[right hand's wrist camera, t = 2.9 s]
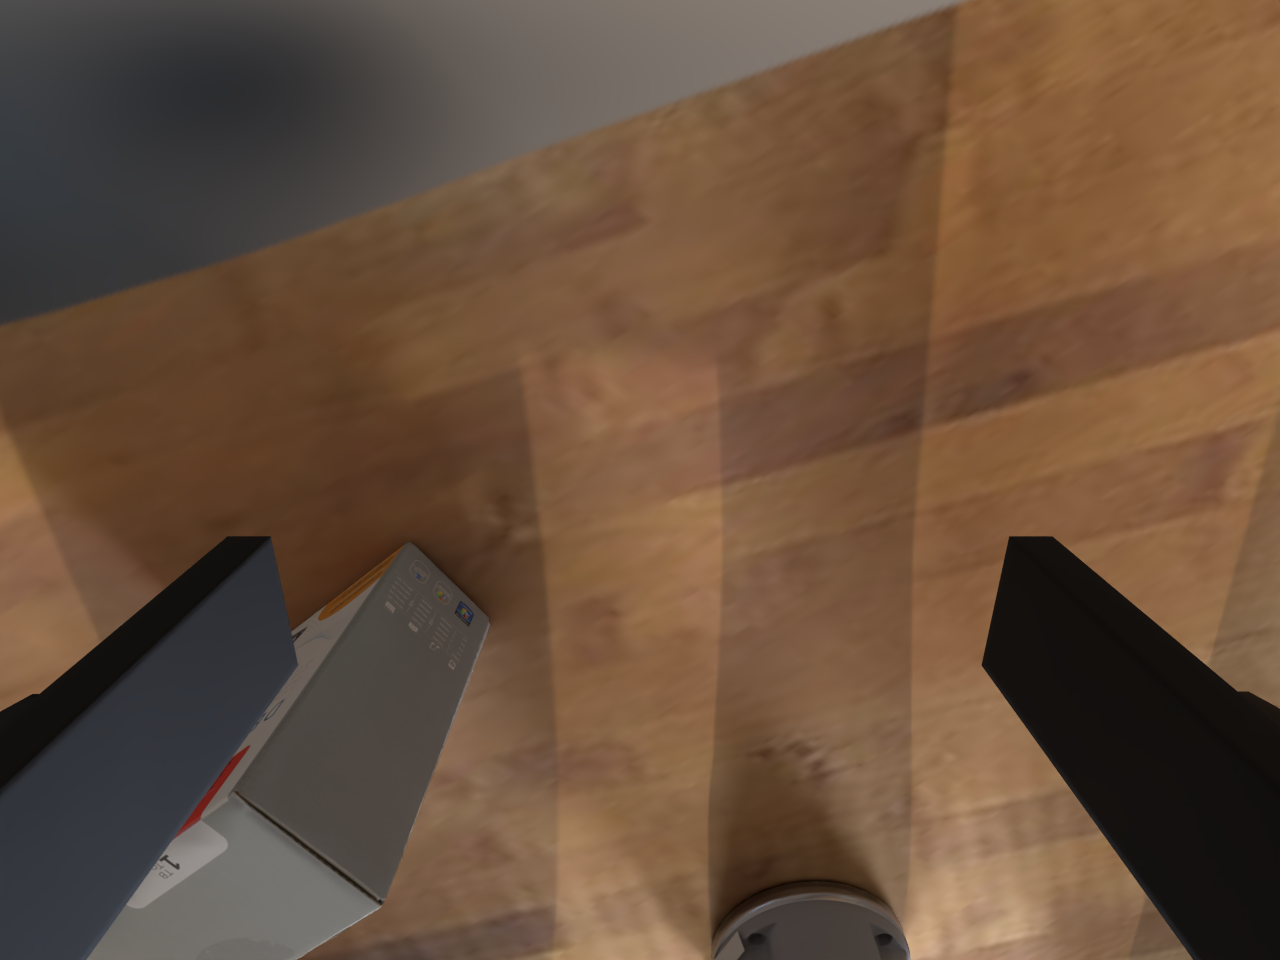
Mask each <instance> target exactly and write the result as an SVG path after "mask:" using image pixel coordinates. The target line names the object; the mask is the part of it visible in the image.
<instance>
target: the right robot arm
mask: <svg viewBox="0 0 1280 960" xmlns="http://www.w3.org/2000/svg"><path fill="white" fill-rule="evenodd" d="M297 667H298V661H297V657H296V652H295V648H294V643H293V638H292V634H291V629H290V624H289V620H288V615H287V610H286V606H285V601H284V596H283V592H282V587H281V582H280V578H279V573H278V568H277V564H276V559H275V554H274V550H273V545H272V540H271V536H228V537H226V538H225V539H224V540H223V541H222V542H220V543H219V544H218V545H217V546H216V547H214V548H213V549H212V550H211V551H210V552H208V553H207V554H206V555H205V556H204V557H202V558H201V559H200V560H199V561H198V562H197V563H195V564H194V565H193V566H192V567H191V568H189V569H188V570H187V571H186V572H185V573H183V574H182V575H181V576H180V577H179V578H177V579H176V580H175V581H174V582H173V583H171V584H170V585H169V586H168V587H167V588H166V589H164V590H163V591H162V592H161V593H160V594H158V595H157V596H156V597H155V598H154V599H152V600H151V601H150V602H149V603H148V604H146V605H145V606H144V607H143V608H142V609H140V610H139V611H138V612H137V613H136V614H135V615H133V616H132V617H131V618H130V619H129V620H127V621H126V622H125V623H124V624H123V625H121V626H120V627H119V628H118V629H117V630H115V631H114V632H113V633H112V634H111V635H109V636H108V637H107V638H106V639H105V640H103V641H102V642H101V643H100V644H99V645H98V646H96V647H95V648H94V649H93V650H92V651H90V652H89V653H88V654H87V655H86V656H84V657H83V658H82V659H81V660H80V661H78V662H77V663H76V664H75V665H74V666H72V667H71V668H70V669H69V670H68V671H67V672H65V673H64V674H63V675H62V676H61V677H59V678H58V679H57V680H56V681H55V682H53V683H52V684H51V685H50V686H49V687H47V688H46V689H45V690H44V691H43V692H41V693H40V694H32V695H30V696H28V697H26V698H24V699H23V700H21V701H19V702H17V703H15V704H14V705H12V706H10V707H8V708H6V709H4V710H3V711H1V712H0V960H87V958H88V957H89V955H90V954H91V953H92V951H93V950H94V949H95V947H96V946H97V944H98V943H99V942H100V940H101V939H102V937H103V936H104V935H105V933H106V932H107V930H108V929H109V928H110V926H111V925H112V924H113V922H114V921H115V919H116V918H117V917H118V915H119V914H120V912H121V911H122V910H123V908H124V907H125V905H126V904H127V903H128V901H129V900H130V899H131V897H132V896H133V894H134V893H135V892H136V890H137V889H138V887H139V886H140V885H141V883H142V882H143V880H144V879H145V878H146V876H147V875H148V874H149V872H150V871H151V869H152V868H153V867H154V865H155V864H156V862H157V861H158V860H159V858H160V857H161V855H162V854H163V853H164V851H165V850H166V849H167V847H168V846H169V844H170V843H171V842H172V840H173V839H174V837H175V836H176V835H177V833H178V832H179V830H180V829H181V828H182V826H183V825H184V824H185V822H186V821H187V819H188V818H189V817H190V815H191V814H192V812H193V811H194V810H195V808H196V807H197V805H198V804H199V803H200V801H201V800H202V798H203V797H204V796H205V794H206V793H207V792H208V790H209V789H210V787H211V786H212V785H213V783H214V782H215V780H216V779H217V778H218V776H219V775H220V773H221V772H222V771H223V769H224V768H225V767H226V765H227V764H228V762H229V761H230V760H231V758H232V757H233V755H234V754H235V753H236V751H237V750H238V748H239V747H240V746H241V744H242V743H243V742H244V740H245V739H246V737H247V736H248V735H249V733H250V732H251V730H252V729H253V728H254V726H255V725H256V723H257V722H258V721H259V719H260V718H261V717H262V715H263V714H264V712H265V711H266V710H267V708H268V707H269V705H270V704H271V703H272V701H273V700H274V698H275V697H276V696H277V694H278V693H279V692H280V690H281V689H282V687H283V686H284V685H285V683H286V682H287V680H288V679H289V678H290V676H291V675H292V673H293V672H294V671H295V669H296V668H297ZM982 667H983V668H984V669H985V671H986V672H987V673H988V675H989V676H990V678H991V679H992V680H993V682H994V683H995V685H996V686H997V687H998V689H999V690H1000V692H1001V693H1002V694H1003V696H1004V697H1005V698H1006V700H1007V701H1008V703H1009V704H1010V705H1011V707H1012V708H1013V710H1014V711H1015V712H1016V714H1017V715H1018V717H1019V718H1020V719H1021V721H1022V722H1023V723H1024V725H1025V726H1026V728H1027V729H1028V730H1029V732H1030V733H1031V735H1032V736H1033V737H1034V739H1035V740H1036V742H1037V743H1038V744H1039V746H1040V747H1041V748H1042V750H1043V751H1044V753H1045V754H1046V755H1047V757H1048V758H1049V760H1050V761H1051V762H1052V764H1053V765H1054V767H1055V768H1056V769H1057V771H1058V772H1059V773H1060V775H1061V776H1062V778H1063V779H1064V780H1065V782H1066V783H1067V785H1068V786H1069V787H1070V789H1071V790H1072V792H1073V793H1074V794H1075V796H1076V797H1077V798H1078V800H1079V801H1080V803H1081V804H1082V805H1083V807H1084V808H1085V810H1086V811H1087V812H1088V814H1089V815H1090V817H1091V818H1092V819H1093V821H1094V822H1095V824H1096V825H1097V826H1098V828H1099V829H1100V830H1101V832H1102V833H1103V835H1104V836H1105V837H1106V839H1107V840H1108V842H1109V843H1110V844H1111V846H1112V847H1113V849H1114V850H1115V851H1116V853H1117V854H1118V855H1119V857H1120V858H1121V860H1122V861H1123V862H1124V864H1125V865H1126V867H1127V868H1128V869H1129V871H1130V872H1131V874H1132V875H1133V876H1134V878H1135V879H1136V880H1137V882H1138V883H1139V885H1140V886H1141V887H1142V889H1143V890H1144V892H1145V893H1146V894H1147V896H1148V897H1149V899H1150V900H1151V901H1152V903H1153V904H1154V905H1155V907H1156V908H1157V910H1158V911H1159V912H1160V914H1161V915H1162V917H1163V918H1164V919H1165V921H1166V922H1167V924H1168V925H1169V926H1170V928H1171V929H1172V930H1173V932H1174V933H1175V935H1176V936H1177V937H1178V939H1179V940H1180V942H1181V943H1182V944H1183V946H1184V947H1185V949H1186V950H1187V951H1188V953H1189V954H1190V955H1191V957H1192V958H1193V960H1280V709H1279V708H1278V707H1276V706H1274V705H1272V704H1270V703H1268V702H1267V701H1265V700H1263V699H1261V698H1259V697H1257V696H1256V695H1254V694H1252V693H1250V692H1237V691H1236V690H1235V689H1234V688H1233V687H1231V686H1230V685H1229V684H1228V683H1227V682H1225V681H1224V680H1223V679H1222V678H1221V677H1219V676H1218V675H1217V674H1216V673H1215V672H1213V671H1212V670H1211V669H1210V668H1209V667H1208V666H1206V665H1205V664H1204V663H1203V662H1202V661H1200V660H1199V659H1198V658H1197V657H1196V656H1194V655H1193V654H1192V653H1191V652H1190V651H1188V650H1187V649H1186V648H1185V647H1184V646H1182V645H1181V644H1180V643H1179V642H1178V641H1177V640H1175V639H1174V638H1173V637H1172V636H1171V635H1169V634H1168V633H1167V632H1166V631H1165V630H1163V629H1162V628H1161V627H1160V626H1159V625H1157V624H1156V623H1155V622H1154V621H1153V620H1151V619H1150V618H1149V617H1148V616H1147V615H1145V614H1144V613H1143V612H1142V611H1141V610H1140V609H1138V608H1137V607H1136V606H1135V605H1134V604H1132V603H1131V602H1130V601H1129V600H1128V599H1126V598H1125V597H1124V596H1123V595H1122V594H1120V593H1119V592H1118V591H1117V590H1116V589H1114V588H1113V587H1112V586H1111V585H1110V584H1109V583H1107V582H1106V581H1105V580H1104V579H1103V578H1101V577H1100V576H1099V575H1098V574H1097V573H1095V572H1094V571H1093V570H1092V569H1091V568H1089V567H1088V566H1087V565H1086V564H1085V563H1083V562H1082V561H1081V560H1080V559H1079V558H1078V557H1076V556H1075V555H1074V554H1073V553H1072V552H1070V551H1069V550H1068V549H1067V548H1066V547H1064V546H1063V545H1062V544H1061V543H1060V542H1058V541H1057V540H1056V539H1055V538H1054V537H1052V536H1009V540H1008V545H1007V550H1006V554H1005V559H1004V564H1003V568H1002V573H1001V578H1000V582H999V587H998V592H997V596H996V601H995V606H994V610H993V615H992V620H991V624H990V629H989V634H988V638H987V643H986V648H985V652H984V657H983V661H982ZM712 960H911V959H910V952H909V947H908V944H907V941H906V938H905V936H904V933H903V930H902V927H901V924H900V922H899V920H898V918H897V917H896V915H895V914H894V912H893V911H892V910H891V909H890V908H889V907H888V906H887V905H886V904H885V903H884V902H883V901H881V900H880V899H878V898H877V897H875V896H874V895H872V894H870V893H868V892H866V891H864V890H861V889H859V888H856V887H853V886H849V885H845V884H840V883H834V882H822V881H810V882H798V883H791V884H786V885H782V886H778V887H775V888H772V889H769V890H766V891H764V892H761V893H759V894H757V895H755V896H753V897H751V898H749V899H748V900H746V901H744V902H743V903H741V904H740V905H739V906H737V907H736V908H735V909H734V910H733V911H732V912H730V913H729V915H728V916H727V917H726V918H725V919H724V920H723V922H722V923H721V924H720V926H719V928H718V930H717V932H716V934H715V936H714V940H713V943H712Z"/></svg>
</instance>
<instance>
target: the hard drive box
mask: <svg viewBox="0 0 1280 960" xmlns="http://www.w3.org/2000/svg"><path fill="white" fill-rule="evenodd" d="M489 627H490V623H489V618H488V617H487V616H486V615H485V614H484V613H483V612H482V611H481V610H480V609H479V608H478V607H477V606H476V605H475V604H474V603H473V602H472V601H471V600H470V599H469V598H468V597H467V596H466V595H465V594H464V593H463V592H462V591H461V590H460V589H459V588H458V587H457V586H456V585H455V584H454V583H453V582H452V581H451V580H450V579H449V578H448V577H447V576H446V575H445V574H444V573H442V572H441V571H440V570H439V569H438V568H437V567H436V566H435V565H434V564H433V563H432V562H431V561H430V560H429V559H428V558H427V557H426V556H425V555H424V554H423V553H422V552H421V551H420V550H419V549H418V548H417V547H416V546H415V545H414V544H412V543H411V542H408V543H406V544H404V545H403V546H402V547H400V548H399V549H398V550H396V551H395V552H394V553H392V554H391V555H390V556H389V557H387V558H386V559H385V560H383V561H382V562H381V563H380V564H378V565H377V566H375V567H374V568H373V569H371V570H370V571H369V572H368V573H366V574H365V575H364V576H363V577H361V578H360V579H359V580H357V581H356V582H355V583H354V584H352V585H351V586H350V587H349V588H347V589H346V590H345V591H343V592H342V593H341V594H339V595H338V596H337V597H336V598H334V599H333V600H332V601H331V602H329V603H328V604H327V605H325V606H324V607H323V608H321V609H320V610H319V611H317V612H316V613H315V614H314V615H312V616H311V617H310V618H309V619H307V620H306V621H305V622H303V623H302V624H301V625H299V626H298V627H297V628H295V629H294V630H293V631H291V634H292V638H293V643H294V648H295V652H296V657H297V661H298V667H297V668H296V669H295V671H294V672H293V673H292V675H291V676H290V678H289V679H288V680H287V682H286V683H285V685H284V686H283V687H282V689H281V690H280V692H279V693H278V694H277V696H276V697H275V698H274V700H273V701H272V703H271V704H270V705H269V707H268V708H267V710H266V711H265V712H264V714H263V715H262V717H261V718H260V719H259V721H258V722H257V723H256V725H255V726H254V728H253V729H252V730H251V732H250V733H249V735H248V736H247V737H246V739H245V740H244V742H243V743H242V744H241V746H240V747H239V748H238V750H237V751H236V753H235V754H234V755H233V757H232V758H231V760H230V761H229V762H228V764H227V765H226V767H225V768H224V769H223V771H222V772H221V773H220V775H219V776H218V778H217V779H216V780H215V782H214V783H213V785H212V786H211V787H210V789H209V790H208V792H207V793H206V794H205V796H204V797H203V798H202V800H201V801H200V803H199V804H198V805H197V807H196V808H195V810H194V811H193V812H192V814H191V815H190V817H189V818H188V819H187V821H186V822H185V824H184V825H183V826H182V828H181V829H180V830H179V832H178V833H177V835H176V836H175V837H174V839H173V840H172V842H171V843H170V844H169V846H168V847H167V849H166V850H165V851H164V853H163V854H162V855H161V857H160V858H159V860H158V861H157V862H156V864H155V865H154V867H153V868H152V869H151V871H150V872H149V874H148V875H147V876H146V878H145V879H144V880H143V882H142V883H141V885H140V886H139V887H138V889H137V890H136V892H135V893H134V894H133V896H132V897H131V899H130V900H129V901H128V903H127V904H126V905H125V907H124V908H123V910H122V911H121V912H120V914H119V915H118V917H117V918H116V919H115V921H114V922H113V924H112V925H111V926H110V928H109V929H108V930H107V932H106V933H105V935H104V936H103V937H102V939H101V940H100V942H99V943H98V944H97V946H96V947H95V949H94V950H93V951H92V953H91V954H90V955H89V957H88V958H87V960H297V959H299V958H300V957H302V956H303V955H305V954H307V953H308V952H310V951H312V950H314V949H315V948H317V947H319V946H320V945H322V944H323V943H325V942H327V941H328V940H330V939H332V938H333V937H335V936H337V935H338V934H340V933H342V932H343V931H345V930H346V929H348V928H349V927H351V926H353V925H354V924H356V923H357V922H359V921H360V920H362V919H364V918H365V917H367V916H368V915H370V914H371V913H373V912H375V911H376V910H378V909H379V908H381V906H382V904H383V902H384V901H385V899H386V897H387V894H388V891H389V889H390V886H391V884H392V881H393V879H394V876H395V874H396V871H397V868H398V866H399V863H400V861H401V860H402V857H403V852H404V850H405V847H406V845H407V842H408V839H409V837H410V834H411V831H412V828H413V826H414V823H415V821H416V818H417V815H418V813H419V810H420V807H421V805H422V802H423V799H424V797H425V794H426V791H427V789H428V786H429V784H430V781H431V778H432V776H433V773H434V771H435V768H436V765H437V763H438V760H439V758H440V755H441V753H442V750H443V747H444V745H445V742H446V740H447V737H448V734H449V732H450V729H451V727H452V724H453V721H454V719H455V716H456V713H457V711H458V708H459V706H460V703H461V700H462V698H463V695H464V693H465V690H466V687H467V685H468V682H469V680H470V677H471V674H472V672H473V669H474V667H475V664H476V661H477V659H478V656H479V654H480V651H481V648H482V646H483V643H484V641H485V638H486V635H487V633H488V630H489Z"/></svg>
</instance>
